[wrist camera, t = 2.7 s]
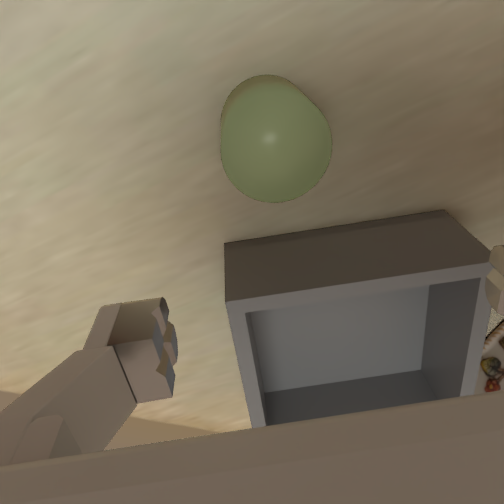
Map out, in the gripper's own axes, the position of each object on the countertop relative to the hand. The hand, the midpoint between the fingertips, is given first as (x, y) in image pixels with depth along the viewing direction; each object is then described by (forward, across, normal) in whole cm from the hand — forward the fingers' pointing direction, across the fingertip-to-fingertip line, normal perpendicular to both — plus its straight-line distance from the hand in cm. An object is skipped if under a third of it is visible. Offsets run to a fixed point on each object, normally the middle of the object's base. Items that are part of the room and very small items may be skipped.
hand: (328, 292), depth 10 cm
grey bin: (+18, -4, +16) cm, 24 cm away
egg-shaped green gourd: (+18, 0, 0) cm, 18 cm away
